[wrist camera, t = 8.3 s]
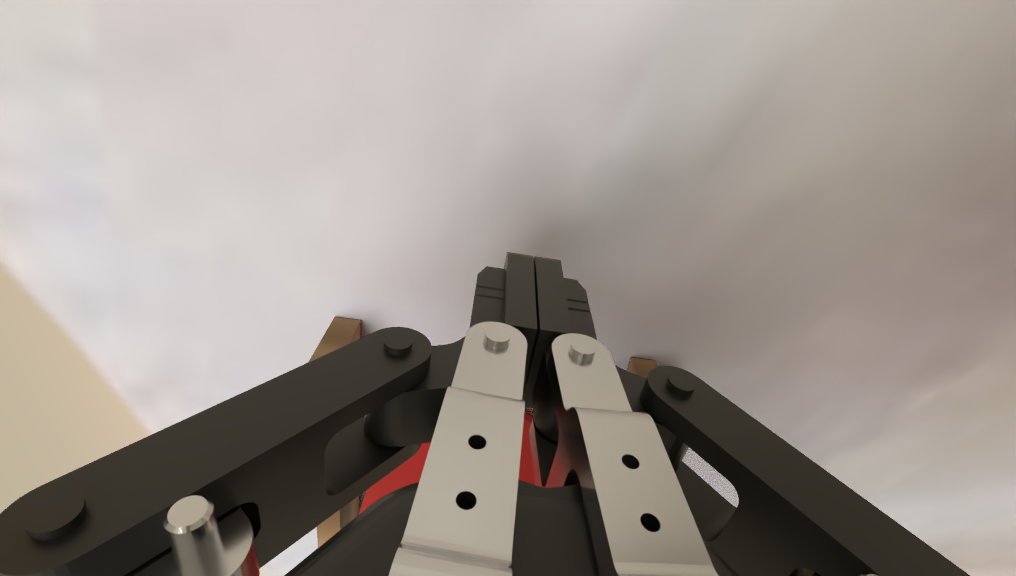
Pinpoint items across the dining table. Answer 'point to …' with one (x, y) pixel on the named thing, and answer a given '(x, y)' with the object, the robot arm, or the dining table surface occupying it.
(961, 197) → the dining table surface
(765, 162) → the dining table surface
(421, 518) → the robot arm
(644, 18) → the dining table surface
